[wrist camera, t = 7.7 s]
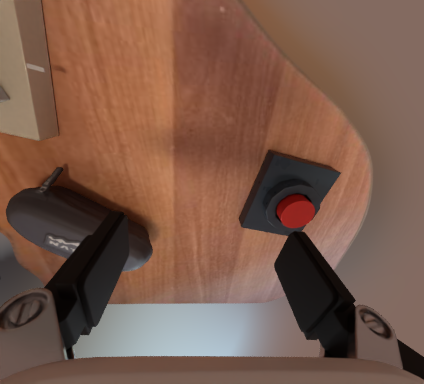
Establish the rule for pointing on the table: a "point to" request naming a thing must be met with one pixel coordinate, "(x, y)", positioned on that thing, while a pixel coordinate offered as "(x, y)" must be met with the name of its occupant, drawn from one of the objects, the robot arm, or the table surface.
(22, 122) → the base
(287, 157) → the switch block
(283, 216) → the button
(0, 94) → the grey red-tipped bar
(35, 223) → the glasses case
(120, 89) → the table surface
